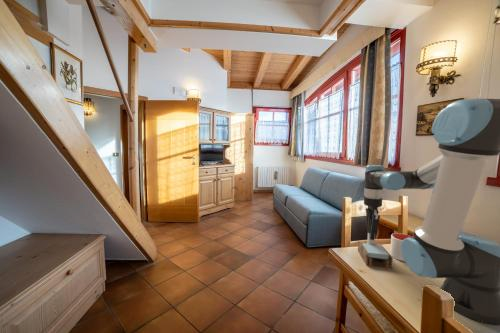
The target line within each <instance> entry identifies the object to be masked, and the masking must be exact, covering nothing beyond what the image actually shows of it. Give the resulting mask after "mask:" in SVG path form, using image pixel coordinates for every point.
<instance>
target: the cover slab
mask: <svg viewBox="0 0 500 333" xmlns="http://www.w3.org/2000/svg"><path fill="white" fill-rule="evenodd" d="M361 245H362V246H363V248H364V249H365V251H366V252H367V254H368V257H372V258H381V259H389V255H388V253H389V252H388V251H387V250H386V251H387V252H388V253H387V252H386V251H385V250H384V249H383V247H384V246H383V245H382V244H381V245H382V246H383V247H382V246H381V245H379V244H367V242H366V243H364V242H362V243H361Z"/></svg>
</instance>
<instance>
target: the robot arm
mask: <svg viewBox="0 0 500 333" xmlns="http://www.w3.org/2000/svg"><path fill="white" fill-rule="evenodd" d="M431 133H432V134H433V139H434V140H435V141H436V142H437V143H438V146H437V149H438V150H439V151H440V152H441V155H439V156H438V157H436V158H434V159H432V160H430V161H429V162H428V163H425V164H424V165H422V166H421V167H419V168H417V169H416V170H413V171H411V170H409V171H405V170H404V171H403V170H401V171H400V170H399V171H397V170H396V171H395V170H394V171H393V170H392V171H391V170H390V171H389V170H385V167H384V166H383V165H382V164H367V165H366V166H365V172H364V187H363V188H364V190H363V191H364V192H363V196H364V198H363V204H364V205H365V206H366V207H367V208H366V207H365V213H366V214H365V215H366V216H365V217H366V218H365V220H366V223H365V224H366V229H367V241H366V243H367V244H375V243H376V242H375V241H376V234H378V228H379V221H380V218H381V216H380V215H379V210H378V208H382V206H383V193H385V191H384V189H385V190H388V191H393V192H394V191H395V192H396V191H399V190H428V189H429V190H430V189H432V192H431V196H430V199H429V203H428V206H427V209H426V213H425V216H424V219H423V222H422V225H421V226H417V227H415V229H414V232H413V235H412V238H410V237H408V238H406V239H404V240H403V241H402V243H401V252H402V256H403V258H404V261H405V262H404V261H403V262H404V263H405V264H406V265H407V267H408V269H409V270H410V271H411V272H412V273H413V274H415V275H417V276H418V277H421V278H430V279H445V280H444V281H443V283H442V284H441V286H440V287H439V290H440V289H442V290H444V291H446V292H448V293H450V294H451V296H452V297H453V298H454V301H455V306H454V310H453V311H456V312H457V313H458V314H461V315H463V316H465V317H467V318H470V319H473V320H474V319H475V321H477V320H479V321H478V322H480V321H483V322H482V323H484V322H486V323H485V324H488V323H490V324H489V325H498V326H499V325H500V243H498V242H496V241H494V240H491V239H490V238H486V237H484V236H481V235H476V234H474V233H473V234H472V233H468V232H463V228H464V225H465V222H466V219H467V217H468V214H469V212H470V210H471V209H470V208H471V206H472V203H473V201H474V198H475V195H476V192H477V190H478V187H479V184H480V181H481V179H482V176H483V173H484V171H485V167H486V164H487V163H488V161H489V160H491V159H494V158H496V157H498V156H499V155H500V98H479V97H477V98H467V99H458V100H456V101H453V102H451V103H449V104H448V105H447V106H445V107H444V108H442V109H441V110H440V111H439V113H438V114H437V115H436V116H435V119H434V121H433V122H432V127H431Z"/></svg>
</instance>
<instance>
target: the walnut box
mask: <svg viewBox="0 0 500 333" xmlns="http://www.w3.org/2000/svg"><path fill="white" fill-rule="evenodd" d="M378 245H381V246H382V247H383V249H384V250H385V251H386V252H387V253H388V255H389V259H381V258H372V257H368V254H367V252H366V251H365V249H364V248H363V246H362V243H361V241H358V242H357V252H358V254H359V256H360V257H361V258H362V261H363V263H364V265H366V266H369V267H378V268H385V269H393V258H394V257H393V256H392V255H391V253H389V252H388V251H387V249H386V248H385V247H384V246H383V244H381V243H379V244H378Z"/></svg>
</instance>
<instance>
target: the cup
mask: <svg viewBox="0 0 500 333" xmlns="http://www.w3.org/2000/svg"><path fill="white" fill-rule="evenodd" d="M408 237H410V238H412V237H413V235H409V234H406V233H405V234H404V233H400V232H398V233H397V232H396V233H392V234H391V235H390V249H389V250H390V251H389V252H390V253H389V254H390V255H391V257H392V258H394V259H395V260H398V261H401V262H404V263H406V262H405V261H404V258H403V256H402V252H401V243H402V241H403V240H404V239H406V238H408Z"/></svg>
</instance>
